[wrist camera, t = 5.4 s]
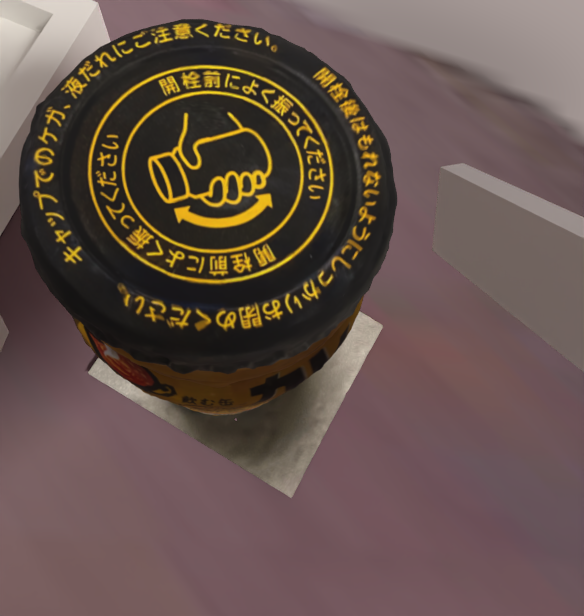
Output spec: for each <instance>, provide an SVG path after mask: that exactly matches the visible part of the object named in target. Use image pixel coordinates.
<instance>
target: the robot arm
mask: <svg viewBox="0 0 584 616" xmlns="http://www.w3.org/2000/svg"><path fill="white" fill-rule="evenodd" d="M432 250H433V251H434V252H435V253H436V254H438V255H439V256H440V257H441V258H443V259H444V260H445V261H446V262H448V263H449V264H450V265H451V266H453V267H454V268H455V269H456V270H457V271H459V272H460V273H461V274H462V275H464V276H465V277H466V278H467V279H469V280H470V281H471V282H472V283H474V284H475V285H476V286H477V287H479V288H480V289H481V290H482V291H484V292H485V293H486V294H487V295H488V296H490V297H491V298H492V299H493V300H495V301H496V302H497V303H498V304H500V305H501V306H502V307H503V308H505V309H506V310H507V311H508V312H510V313H511V314H512V315H513V316H515V317H516V318H517V319H518V320H519V321H521V322H522V323H523V324H524V325H526V326H527V327H528V328H529V329H531V330H532V331H533V332H534V333H536V334H537V335H538V336H539V337H541V338H542V339H543V340H544V341H545V342H547V343H548V344H549V345H550V346H552V347H553V348H554V349H555V350H557V351H558V352H559V353H560V354H562V355H563V356H564V357H565V358H567V359H568V360H569V361H570V362H572V363H573V364H574V365H575V366H576V367H578V368H579V369H580V370H581V371H583V372H584V217H582V216H579V215H577V214H575V213H573V212H571V211H568V210H566V209H564V208H562V207H559V206H557V205H555V204H553V203H551V202H548V201H546V200H544V199H542V198H539V197H537V196H535V195H533V194H531V193H528V192H526V191H524V190H522V189H519V188H517V187H515V186H513V185H511V184H508V183H506V182H504V181H502V180H499V179H497V178H495V177H493V176H491V175H488V174H486V173H484V172H482V171H479V170H477V169H475V168H473V167H471V166H468V165H466V164H464V163H462V164H456V165H449V166H443V167H440V176H439V186H438V197H437V207H436V217H435V227H434V237H433V248H432ZM8 334H9V331H8V329H7V327H6V325H5V323H4V321H3V319H2V317H1V315H0V352H1V349H2V347H3V345H4V343H5V341H6V338H7V336H8Z"/></svg>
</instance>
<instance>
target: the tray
mask: <svg viewBox="0 0 584 616" xmlns="http://www.w3.org/2000/svg"><path fill="white" fill-rule="evenodd" d="M107 43H110V39H109V36H108V33H107V30H106V26H105V23H104V20H103V17H102V14H101V11H100V8H99V4H98V3H97V2H94V1H92V0H0V236H1V234H2V232H3V231H4V229H5V227H6V226H7V224H8V222H9V221H10V219H11V217H12V216H13V214H14V212H15V210H16V209H17V207H18V205H19V204H20V200H19V167H20V158H21V152H22V148H23V145H24V143H25V140H26V138H27V136H28V134H29V133H30V127H31V122H32V119H33V117H34V114H35V112H36V106H37V105H38V104H39V103H41V102H43V101H44V100H45V99H46V97H47V96H48V95H49V94H50V93H51V92H52V91H53V90H54V89H55V88H56V87H57V86H58V85H59V84H60V82H61V81H62V80H63V79H64V78H65V77H67V76H68V75H69V74H70V73H71V72H72V71H73V70H74V68H75V67H76V66H77V65H78V64H79V63H80V62H81V61H82V60H83V59H84V58H86V57H87V56H89V55H90V54H92V53H93V52H94V51H96V50H97V49H98V48H99V47H101V46H103V45H105V44H107Z"/></svg>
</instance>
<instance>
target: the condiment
mask: <svg viewBox="0 0 584 616" xmlns="http://www.w3.org/2000/svg"><path fill="white" fill-rule="evenodd" d="M19 200H20V210H21V216H22V219H21V234H22V237H23V238H24V240H25V241H26V243H27V245H28V247H29V249H30V251H31V254H32V257H33V261H34V264H35V268H36V270H37V271H38V273H39V275H40V276H41V278H42V279H43V281H44V282H45V283H46V285H47V286H48V288H49V290H50V292H51V293H52V294H53V295H54V296H55V297H56V298H57V299H58V300H59V302H60V303H61V304H62V305H63V306H64V307H65V308H66V310H67V311H68V312H69V313H70V314H71V316H72V317H73V319H74V321H75V323H76V326H77V328H78V330H79V331H80V333H81V334H82V337H83V339H84V341H85V343H86V344H87V345H88V346H89V347H91V348H92V350H93V351H94V353H95V354H96V355H97V356H98V357H99V358H98V359H97V360H96V362H95V363H94V365H93V366H92V368H91V369H90V370H89V372H88V374H90V375H91V376H93V377H94V378H96V379H98V380H99V381H101V382H103V383H104V384H106V385H108V386H109V387H111V388H113V389H114V390H116V391H117V392H119V393H121V394H122V395H124V396H126V397H127V398H129V399H131V400H132V401H134V402H136V403H137V404H139V405H141V406H142V407H144V408H145V409H147V410H149V411H150V412H152V413H154V414H155V415H157V416H159V417H160V418H162V419H163V420H165V421H167V422H168V423H170V424H172V425H173V426H175V427H177V428H178V429H180V430H181V431H183V432H185V433H186V434H188V435H189V436H191V437H193V438H194V439H196V440H198V441H199V442H201V443H202V444H204V445H205V446H207V447H209V448H210V449H213V450H214V451H216V452H217V453H219V454H220V455H222V456H224V457H225V458H227V459H228V460H230V461H232V462H234V463H235V464H237V465H239V466H240V467H241V468H243V469H245V470H247V471H248V472H250V473H252V474H253V475H255V476H256V477H258V478H260V479H261V480H263V481H264V482H266V483H268V484H269V485H271V486H272V487H274V488H276V489H277V490H279V491H281V492H282V493H284V494H286V495H287V496H289V497H291V498H292V496H293V494H294V492H295V490H296V488H297V486H298V485H299V483H300V481H301V479H302V476H303V475H304V473H305V471H306V469H307V467H308V465H309V463H310V461H311V459H312V457H313V455H314V454H315V452H316V450H317V448H318V446H319V444H320V442H321V440H322V438H323V437H324V435H325V433H326V431H327V429H328V427H329V425H330V423H331V421H332V419H333V418H334V416H335V414H336V412H337V410H338V409H339V407H340V405H341V403H342V401H343V399H344V397H345V394H346V392H347V391H348V390H349V388H350V386H351V384H352V383H353V381H354V379H355V377H356V375H357V374H358V372H359V370H360V368H361V366H362V364H363V362H364V360H365V358H366V356H367V355H368V353H369V351H370V349H371V348H372V346H373V344H374V342H375V340H376V338H377V337H378V335H379V333H380V331H381V329H382V327H383V325H381V324H379V323H378V322H376V321H374V320H373V319H371V318H370V317H368V316H367V315H365V314H363V313H362V312H360V311H359V310H360V307H361V304H362V301H363V297H364V294H365V293H366V292H367V291H368V290H369V288H370V286H371V283H372V280H373V278H374V277H375V275H376V274H377V273H378V271H379V270H380V268H381V265H382V263H383V261H384V259H385V257H386V253H387V251H388V249H389V241H390V238H391V236H392V233H393V222H394V215H395V209H396V206H397V192H396V188H395V183H394V178H393V167H392V163H391V153H390V148H389V145H388V142H387V139H386V138H385V136H384V134H383V133H382V131H381V130H380V128H379V127H378V125H377V124H376V123H375V121H374V120H373V118H372V116H371V115H370V113H369V111H368V110H367V108H366V107H365V105H364V104H363V102H362V101H361V100H360V98H359V97H358V96H357V95H356V93H355V92H354V90H353V88H352V86H351V84H350V83H349V82H348V81H347V80H346V79H345V78H344V77H343V76H342V75H340V74H339V73H337V72H336V71H334V70H333V69H332V68H331V67H330V66H329V65H328V64H326V63H324V62H323V61H321V60H320V59H319V58H318V57H317V56H315V55H314V54H313V53H311V52H308V51H307V50H306V49H305V48H302V47H300V46H297V45H295V44H293V43H291V42H289V41H287V40H285V39H283V38H282V37H280V36H277V35H273V34H270V33H268V32H267V31H265V30H263V29H262V28H256V27H251V26H240V25H231V24H223V23H218V22H214V21H209V20H203V19H182V20H178V21H175V22H170V23H166V24H161V25H157V26H152V27H149V28H145V29H141V30H138V31H135V32H132V33H129V34H126V35H124V36H122V37H120V38H118V39H116V40H114V41H112V42H110V43H107V44H105V45H103V46H101V47H99V48H98V49H97V50H96V51H94V52H93V53H92V54H90V55H89V56H87V57H86V58H84V59H83V60H82V61H81V62H80V63H79V64H78V65H77V66H76V67H75V68H74V70H73V71H72V72H71V73H70V74H69V75H68V76H67V77H65V78H64V79H63V80H62V81H61V82H60V84H59V85H58V86H57V87H56V88H55V89H54V90H53V91H52V92H51V93H50V94H49V95H48V96H47V97H46V99H45V100H44V101H43V102H41V103H39V104H38V105H37V106H36V112H35V114H34V117H33V119H32V122H31V127H30V133H29V134H28V136H27V138H26V140H25V143H24V145H23V148H22V152H21V158H20V167H19ZM235 418H237V421H235V420H234V419H235Z"/></svg>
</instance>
